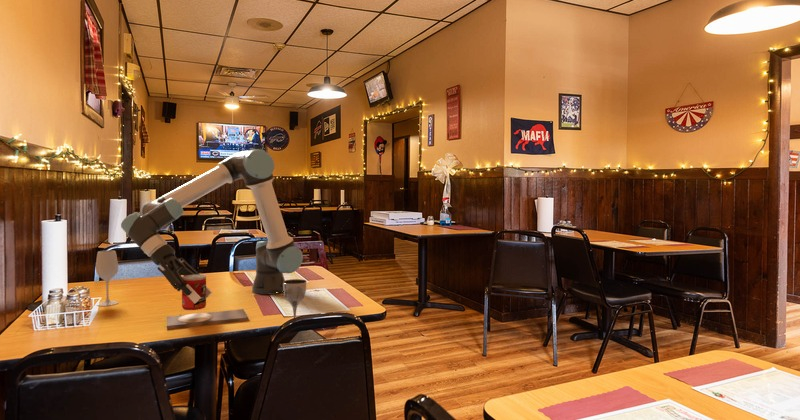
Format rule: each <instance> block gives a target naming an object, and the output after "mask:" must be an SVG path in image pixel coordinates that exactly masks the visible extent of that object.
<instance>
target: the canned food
mask: <svg viewBox="0 0 800 420" xmlns="http://www.w3.org/2000/svg"><path fill="white" fill-rule="evenodd" d="M181 277H182V278H183V280H184V282H185V283H186V285H187V284H188V285H189V286H190V287H191V288H192V289H193V290H194V291H195V292H196V293H197V294H198V295H199V296H200V297H201V298H200V299H199V300H198V301H197V302H196V303H195V304H194V302H193V301H192V300H191V299H190V298H189V297H188V296H187V295H186V294H185V293H184V292H183V291H182V290H181V307H182V309H183V310H186V311H198V310H199V311H200V310H202V309H204V308H206V305H207V298H206V286H207V276H206V275H205V274H200V275H198V274H196V275H186V276H184V275H182V276H181Z"/></svg>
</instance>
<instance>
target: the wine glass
mask: <svg viewBox="0 0 800 420" xmlns="http://www.w3.org/2000/svg"><path fill="white" fill-rule="evenodd" d="M283 291H284V292H283V295H284V298H285V300H286V301H287V302H288V303H289V304H290V306H291V307H292V312H293V319H294V318H295V317H296V318H297V308H298V306H299V305H300V303H301V302H302V301H303V300H304V299H305V296H306V292H307V280H306V279H302V278H300V279H299V278H291V279H285V281H283Z"/></svg>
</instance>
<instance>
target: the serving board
mask: <svg viewBox="0 0 800 420" xmlns="http://www.w3.org/2000/svg"><path fill="white" fill-rule="evenodd" d="M246 320H248V321H249V316H248V314H247V313H246V311H245V309H244V308H242V309H232V310H231V309H230V310H222V311H221V310H219V311H211V312H198V313H197V312H196V313H189V314H181V315H180V314H179V315H171V316H170V315H169V316H166V330H174V329H176V330H177V329H184V328H192V327H194V328H195V327H203V326H211V325H219V324H220V325H221V324H222V325H223V324H230V323H238V322H239V321H240V322H247V321H246Z"/></svg>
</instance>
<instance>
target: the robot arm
mask: <svg viewBox="0 0 800 420" xmlns="http://www.w3.org/2000/svg"><path fill="white" fill-rule="evenodd" d="M273 158H274V157H272V155H271V154H270V153H269V152H267V151H266V150H264V149H257V148H254V149H246V150H245V149H244V150H239V151H237V152H235V153H233V154H232V155H230V156H228V157H227V158H225V159H223V160H222V161H220V162H218V163H216V164H217V166H215V167H214V168H212V169H210V170H208V171H206V172H204V173H203V174H201V175H199V176H197V177H195V178H193V179H192V180H190V181H188V182H186V183H184V184H183V185H181V186H178V187H176V188H175V189H173V190H171V191H170V192H167V193H165V194H164V195H162V196H160V197H158V198H156V199H154V200H152V201H147V202H146V203H144V204H143V205H141V208H140V213H139V212H133V213H131V214H129V215H127V216H126V217H125V218H124V219H122V221H121V223H120V227H121V229H122V230H123V231H124V232H125V234H126V235H127V236H128V237H129V239H131V240H132V241H133V242H134V243H135V244H136V246H137V247H139V248H140V250H142V251H143V254H145V255H147V257H149V258H150V260H151V261H152V262H153V263H154V264H155V265H156V266H158V267H157V270H158V271H159V272H160V273H161V274H162V275H163V276H164V278H166V280H167V281H168V282H169V284H170V285H171V286H172V288H173V289H174V290H176V291H177V292H180V291H181V292H182V291H183V292H184V293H185V294H186V295H187V296H188V297H189V298H190V299H191V300H192V301H193V302H194V304H195V303H196V302H197V301H198V300H199V299H200V298H201V297H200V296H199V295H198V294H197V293H196V292H195V291H194V290H193V289H192V288H191V287H190V286H189V285H188V284H187V285H186V283H185V282H184V280H183V278H182V277H183V276H186V275H196V274H198V275H201V274H200V273H199V272H198V271H197V270H196V269H195V268H193V266H191V265H190V264H189V263H188V262H187V261H186V259H185V258H184V257H180V258H178V257H177V256H175V253H176V251H175V249H174V247H172V246H171V245H170V244H168V242H167V240H166V239H164V237H162V236H161V234H160V233H158V232H159V231H161V230H162V229H164V228H165V227H167V226H168V225H170V224H171V223H172V222H174V221H176V220H178V219H179V218H180V217H181V216H183V214H184V209H183V208H184V207H186V206H189V204H192V203H194V202H196V201H197V200H199V199H200V198H202V197H204V196H205V195H207V194H209V193H211V192H213V191H215V190H216V189H219V188H220V187H222V186H223V185H225V184H233V183H234V182H236V181H239V180H242V179H243V181H244V185H245V186H246V188H249V189H250V191H251V193H252V196H253V199H254V202H255V205H256V208H257V212H258V213H259V218H260V220H261V223H262V227H263V229H264V232H265V235H266V238H267V240H263V241H262V240H261V241H258V242H256V246H255V277H254V279H253V283H252V285H251V292H252V293H253V292H254V294H257V293H259V294H258V295H269V294H268V293H276V292H282V291H283V281H285V280H286V279H285V277H284V274H293V273H295V272H296V271H298V270H299V269H300V267H301V265H302V263H303V261H304V256H303V252H302V251H301V249H300V248H299V247H298V246H296V245H295V244H296V243H295V241H294V238H293V237H291V236H290V235H289V234H288V232H287V231H288V230H287V228H286V225H285V221H284V219H283V215H282V212H281V208H280V205H279V202H278V199H277V195H276V193H275V189H274V187H273V182H274V179H275V177H274V173H273V172H274V170H275V162H274V161H275V160H274V159H273ZM212 293H213V291H212V290H211V288H209V287H208V286H207V285H206V299H207V298H208V297H209V296H211V294H212ZM282 293H283V292H282Z"/></svg>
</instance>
